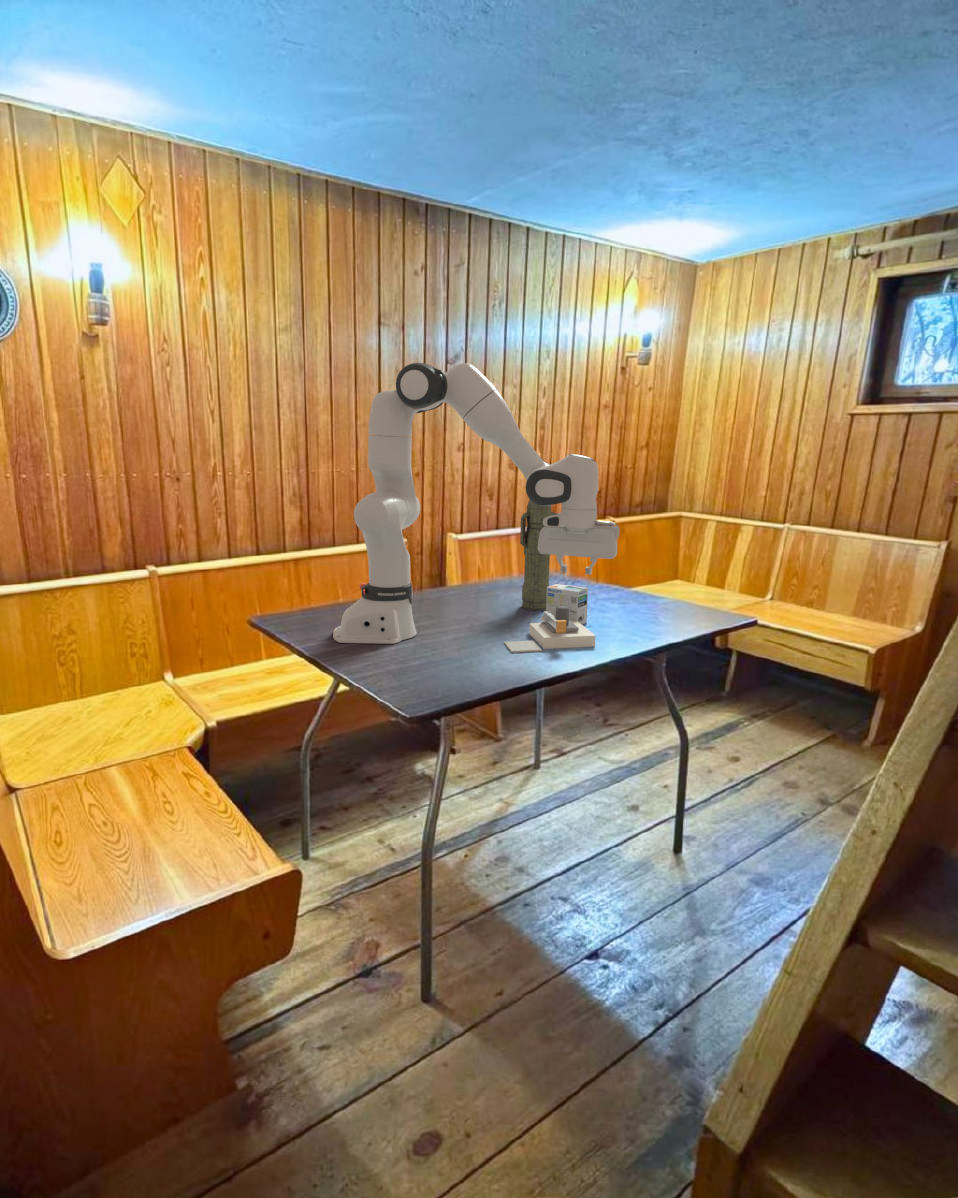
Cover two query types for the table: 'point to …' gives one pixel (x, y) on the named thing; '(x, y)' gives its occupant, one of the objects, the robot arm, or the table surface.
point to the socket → (561, 637)
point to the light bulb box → (568, 601)
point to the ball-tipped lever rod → (554, 622)
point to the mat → (522, 646)
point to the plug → (563, 614)
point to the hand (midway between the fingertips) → (575, 573)
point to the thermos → (534, 558)
